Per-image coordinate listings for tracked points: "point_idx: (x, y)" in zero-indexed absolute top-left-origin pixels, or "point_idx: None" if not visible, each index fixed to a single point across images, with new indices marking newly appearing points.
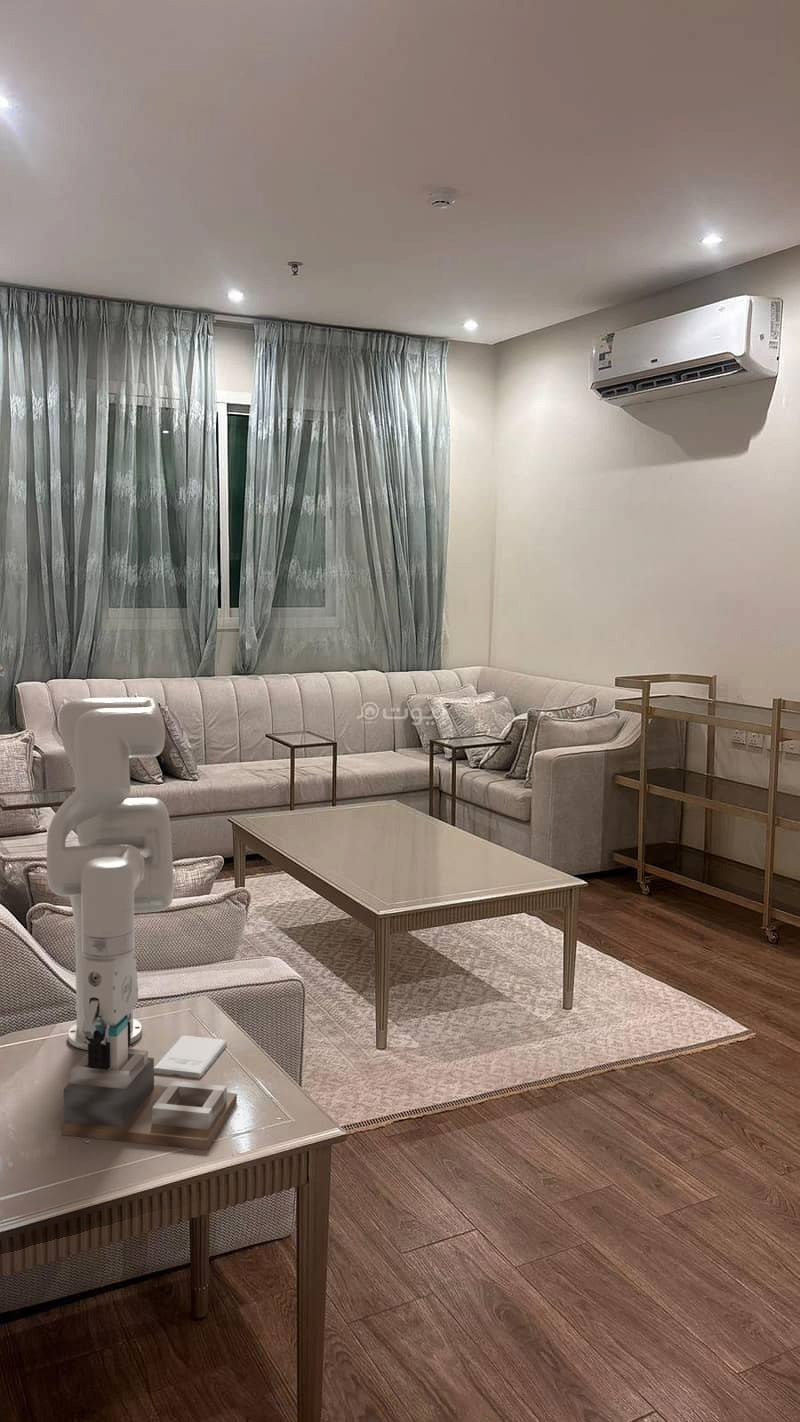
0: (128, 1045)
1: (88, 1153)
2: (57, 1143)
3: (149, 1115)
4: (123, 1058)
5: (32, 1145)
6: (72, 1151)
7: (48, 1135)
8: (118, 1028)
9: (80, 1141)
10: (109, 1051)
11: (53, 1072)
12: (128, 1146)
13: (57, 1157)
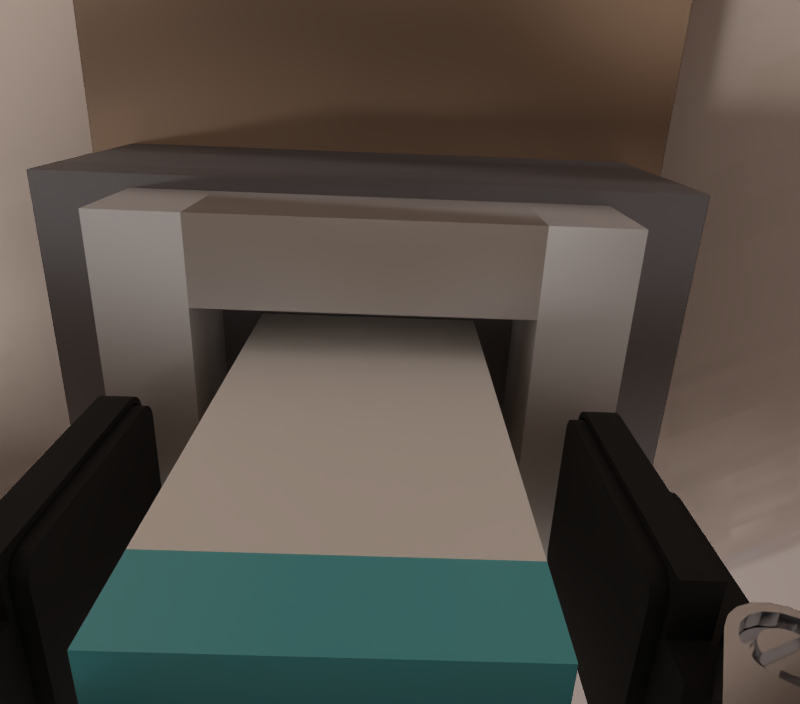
0: (127, 406)
1: (758, 271)
2: (665, 435)
3: (468, 46)
4: (338, 366)
5: None
6: (737, 349)
7: None
8: (492, 640)
9: None
10: (656, 505)
11: None
12: (696, 90)
13: (786, 391)
